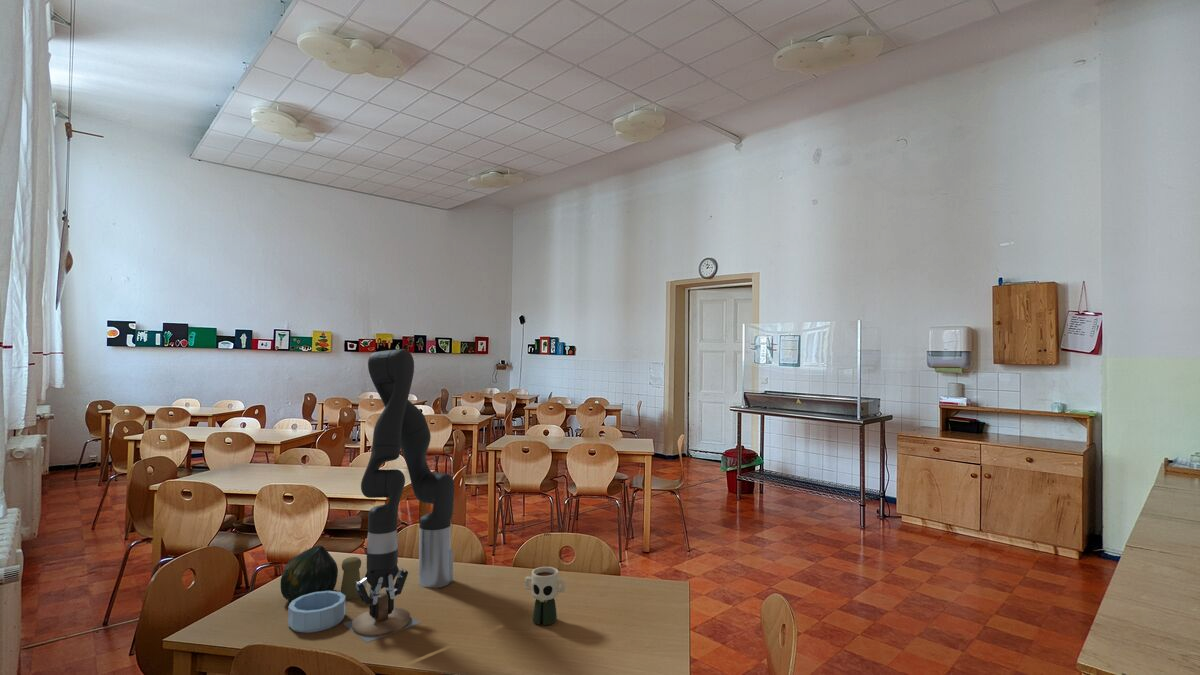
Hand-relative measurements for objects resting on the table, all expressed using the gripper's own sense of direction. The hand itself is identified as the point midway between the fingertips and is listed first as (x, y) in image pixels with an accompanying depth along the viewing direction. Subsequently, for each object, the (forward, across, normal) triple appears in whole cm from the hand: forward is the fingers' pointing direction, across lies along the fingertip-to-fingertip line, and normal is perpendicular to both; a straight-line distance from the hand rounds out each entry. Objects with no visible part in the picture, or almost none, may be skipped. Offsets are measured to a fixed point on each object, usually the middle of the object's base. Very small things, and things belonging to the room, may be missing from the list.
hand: (381, 615), depth 152 cm
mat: (+3, 0, 0) cm, 3 cm away
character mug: (+3, -31, +28) cm, 42 cm away
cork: (+3, -2, -23) cm, 23 cm away
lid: (+2, 0, 0) cm, 2 cm away
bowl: (+3, +11, -13) cm, 17 cm away
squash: (+3, +6, -32) cm, 33 cm away
